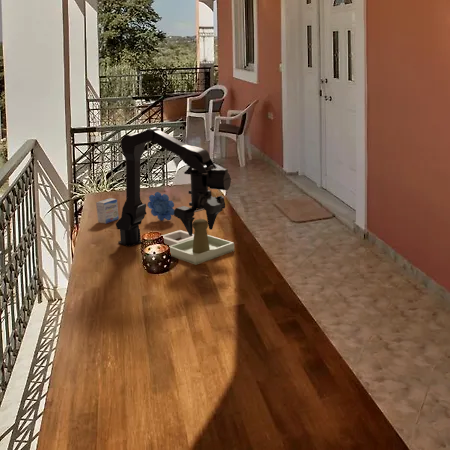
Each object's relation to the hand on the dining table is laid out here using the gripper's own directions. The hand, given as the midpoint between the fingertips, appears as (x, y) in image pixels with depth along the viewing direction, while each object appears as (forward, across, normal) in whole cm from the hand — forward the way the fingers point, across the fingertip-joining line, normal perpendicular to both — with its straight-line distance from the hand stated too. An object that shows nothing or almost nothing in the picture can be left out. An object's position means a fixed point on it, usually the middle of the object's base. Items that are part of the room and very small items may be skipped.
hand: (200, 232), depth 195 cm
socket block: (+7, +2, +14) cm, 16 cm away
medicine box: (+8, +1, +57) cm, 58 cm away
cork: (+7, 0, 0) cm, 7 cm away
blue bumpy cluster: (+8, +15, +40) cm, 43 cm away
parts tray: (+7, 0, 0) cm, 7 cm away
